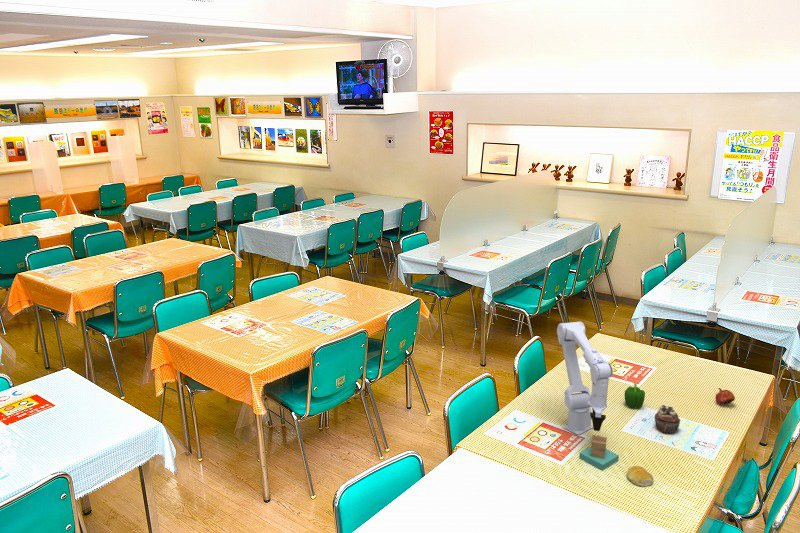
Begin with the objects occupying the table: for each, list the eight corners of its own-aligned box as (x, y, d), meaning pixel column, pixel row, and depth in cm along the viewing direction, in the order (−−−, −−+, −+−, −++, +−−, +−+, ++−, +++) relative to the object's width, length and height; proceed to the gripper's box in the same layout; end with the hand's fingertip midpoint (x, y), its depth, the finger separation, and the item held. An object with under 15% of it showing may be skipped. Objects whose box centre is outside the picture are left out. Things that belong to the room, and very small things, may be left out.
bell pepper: (640, 412, 262) (642, 391, 260) (621, 407, 267) (623, 386, 265) (646, 405, 269) (648, 384, 266) (627, 399, 274) (629, 379, 271)
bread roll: (641, 470, 222) (642, 460, 221) (656, 485, 214) (658, 475, 213) (621, 473, 221) (622, 464, 220) (635, 488, 212) (636, 478, 211)
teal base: (595, 450, 236) (595, 443, 235) (618, 462, 228) (618, 455, 227) (579, 459, 230) (579, 452, 229) (602, 472, 222) (602, 464, 222)
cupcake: (681, 436, 244) (684, 414, 241) (655, 434, 246) (658, 411, 243) (676, 424, 253) (678, 402, 250) (651, 422, 255) (653, 400, 252)
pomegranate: (735, 411, 268) (726, 390, 274) (742, 404, 262) (732, 383, 268) (719, 413, 268) (709, 392, 274) (725, 406, 262) (715, 385, 268)
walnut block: (591, 448, 232) (592, 434, 230) (605, 451, 230) (606, 437, 228) (590, 455, 227) (591, 441, 225) (604, 458, 225) (605, 444, 224)
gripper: (588, 383, 239) (585, 414, 242) (588, 400, 225) (585, 433, 229) (607, 385, 237) (604, 417, 240) (608, 403, 223) (605, 436, 227)
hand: (596, 425), depth 235 cm, fingers open, 7 cm apart
